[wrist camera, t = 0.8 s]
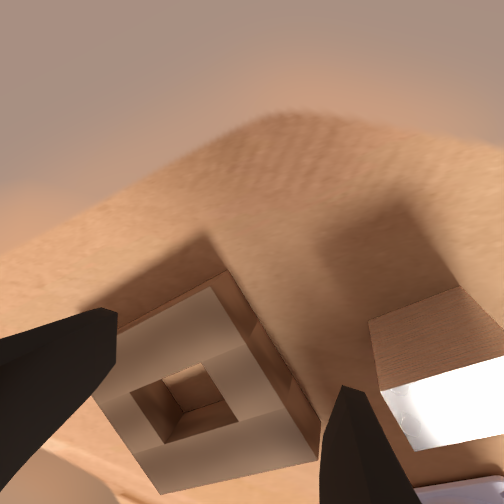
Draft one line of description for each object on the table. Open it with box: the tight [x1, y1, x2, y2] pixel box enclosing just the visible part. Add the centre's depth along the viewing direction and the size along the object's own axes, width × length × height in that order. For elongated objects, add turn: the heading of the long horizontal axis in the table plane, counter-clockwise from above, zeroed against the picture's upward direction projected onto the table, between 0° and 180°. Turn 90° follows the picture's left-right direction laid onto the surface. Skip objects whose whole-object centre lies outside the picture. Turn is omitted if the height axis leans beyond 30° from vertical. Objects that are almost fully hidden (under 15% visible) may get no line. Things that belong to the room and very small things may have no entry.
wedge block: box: [368, 286, 504, 452], centre depth 14 cm, size 3×5×6 cm, turn 122°
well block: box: [91, 270, 321, 495], centre depth 21 cm, size 12×13×3 cm
